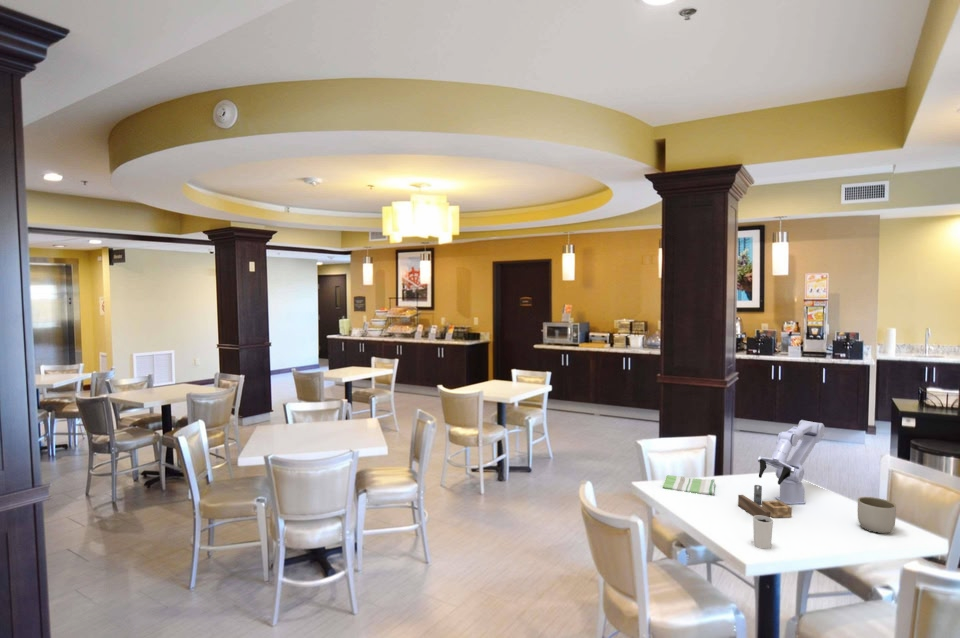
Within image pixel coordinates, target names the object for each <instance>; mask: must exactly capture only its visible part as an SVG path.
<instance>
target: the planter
mask: <svg viewBox="0 0 960 638" xmlns="http://www.w3.org/2000/svg"><path fill="white" fill-rule="evenodd" d="M896 516H897V505H896V503H894V502H892V501H889V500H887V499H884V498H883V499H882V498H878V497H871V496H861V497H858V498H857V520H858V523H859V525H860V526H861V527H862V528H863V529H865V530H866V529H867V531H869V530H870V532H872V531H873V532H872V533H876V532H878V533H877V534H889V533H891V532H893V530H894V529H895V525H896V520H897V519H896Z"/></svg>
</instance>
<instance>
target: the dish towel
mask: <svg viewBox="0 0 960 638" xmlns="http://www.w3.org/2000/svg"><path fill="white" fill-rule="evenodd" d="M715 481H716V479H701V478H695V477H694V478H689V477H685V476H680V475H678V476H677V475H671V474H670V475H669V474H666V477H665V479H664V483H663V485H662V489H665V490H671V491H677V492H683V491H684V492H685V493H690V492H691V494H696V493H697V494H698V495H705V496H715V493H716V487H717V485H716V482H715ZM684 492H683V493H684Z"/></svg>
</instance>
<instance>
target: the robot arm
mask: <svg viewBox="0 0 960 638" xmlns="http://www.w3.org/2000/svg"><path fill="white" fill-rule="evenodd" d="M825 430H826V429H825V425H824V423H822V422H815V421H814V422H813V421H808V420H804V419H801V420H799V422H798V424H797V426H792V427H791V428H790V429H788V430H786V431H781V432H779V433H778V436H777V441H776V446H775V447H774V450H773V452H772V454H771V457H764V456H760V455H759V456H758V458H757V462H758V463H759V473H758V478H759V479H761V478H762V477H763V475H764V472H765V470H766V469H767V465H769V466H771V467H773V468H775V477H776V478H777V479H778V480H777V485H779V496H774V498H775V499H776V500H777V501H781V502H783V503H785V504H786V505H797V504H798V505H800V504H801V505H802V504H806V502H805V491H806V490H805V486H804V484H803V483H802V481H803V479H804V475H805V470H804V467H803V465H804V463H805V461H806V460H807V459H808V456H809V455H810V453H811V452H812V451H813V449H814V447H815V445H816V444H817V443H820V441H821V440H822V439H823V437H824V435H825ZM799 440H800V441H801V442H800V444H799V446H798V447H797V449H796V450H795V451H794V453H793V454H792V456H791V458H790V459H789V460H788V458H789V456H790V452H792V451H791V450H792V449H793V447H796V446H797V445H798V442H799Z"/></svg>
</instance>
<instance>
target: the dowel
mask: <svg viewBox="0 0 960 638" xmlns="http://www.w3.org/2000/svg"><path fill="white" fill-rule="evenodd" d="M753 487H754V488H753V490H754V491H753V502H755V503H757V504H758V505H760V506H762V497H763V496H762V493H763V492H762V491H763V490H762V489H763V487H762V485H759V484H754V486H753Z"/></svg>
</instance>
